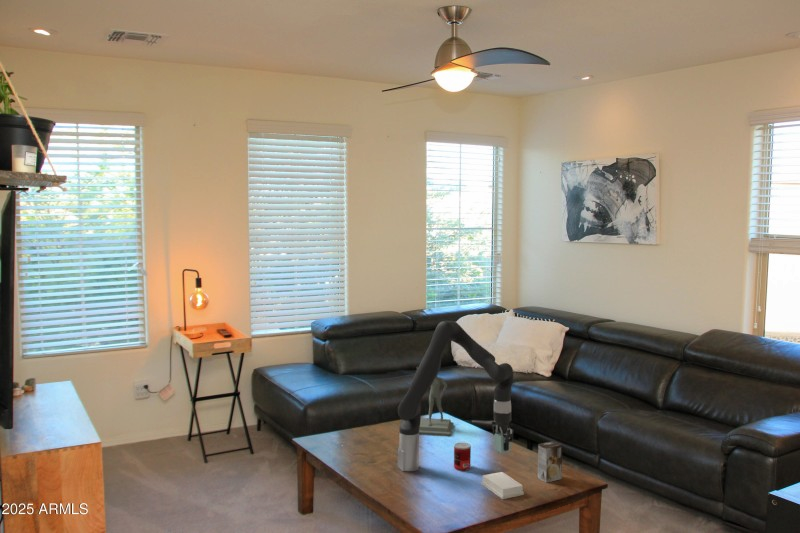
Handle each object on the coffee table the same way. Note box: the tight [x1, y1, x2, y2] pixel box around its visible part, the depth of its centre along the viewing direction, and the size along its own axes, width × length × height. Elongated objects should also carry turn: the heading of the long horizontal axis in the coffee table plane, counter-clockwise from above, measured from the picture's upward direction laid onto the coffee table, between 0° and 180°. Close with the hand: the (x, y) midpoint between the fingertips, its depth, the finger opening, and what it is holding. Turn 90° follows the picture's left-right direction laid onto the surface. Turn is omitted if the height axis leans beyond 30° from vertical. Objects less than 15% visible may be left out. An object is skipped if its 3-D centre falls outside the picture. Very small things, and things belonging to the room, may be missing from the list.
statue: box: [415, 365, 455, 437], centre depth 365 cm, size 20×19×36 cm
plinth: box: [480, 471, 525, 500], centre depth 288 cm, size 11×17×4 cm, turn 24°
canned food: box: [453, 441, 472, 472], centre depth 312 cm, size 8×8×11 cm
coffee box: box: [537, 440, 563, 483], centre depth 299 cm, size 9×6×16 cm
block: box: [493, 433, 512, 454], centre depth 287 cm, size 5×5×7 cm
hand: (502, 448), depth 287 cm, fingers closed on block, 5 cm apart
